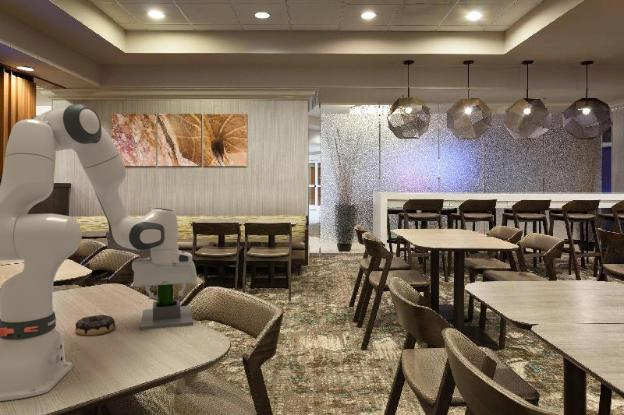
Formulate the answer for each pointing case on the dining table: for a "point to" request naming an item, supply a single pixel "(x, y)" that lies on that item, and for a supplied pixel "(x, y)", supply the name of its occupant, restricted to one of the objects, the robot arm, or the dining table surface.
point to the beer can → (165, 294)
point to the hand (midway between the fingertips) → (166, 297)
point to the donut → (95, 325)
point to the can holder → (166, 316)
